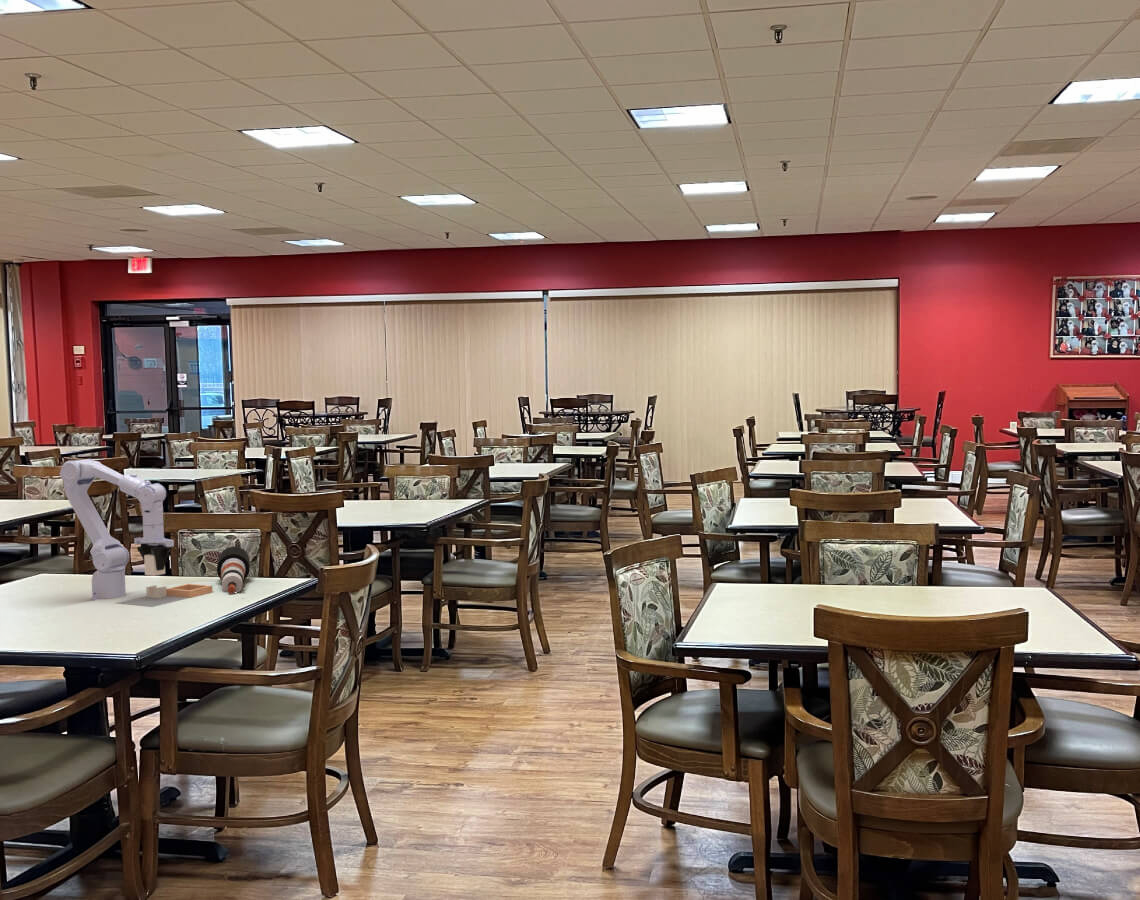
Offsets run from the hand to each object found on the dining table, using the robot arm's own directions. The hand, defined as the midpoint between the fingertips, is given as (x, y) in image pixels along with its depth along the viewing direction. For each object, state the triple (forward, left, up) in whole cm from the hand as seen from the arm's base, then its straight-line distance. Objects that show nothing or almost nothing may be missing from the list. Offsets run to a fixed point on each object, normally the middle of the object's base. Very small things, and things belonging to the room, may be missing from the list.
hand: (155, 569), depth 308 cm
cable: (+7, +24, -10) cm, 27 cm away
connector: (0, 0, -1) cm, 1 cm away
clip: (0, 0, -9) cm, 9 cm away
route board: (+3, +1, -9) cm, 10 cm away
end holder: (+6, +7, -9) cm, 13 cm away
